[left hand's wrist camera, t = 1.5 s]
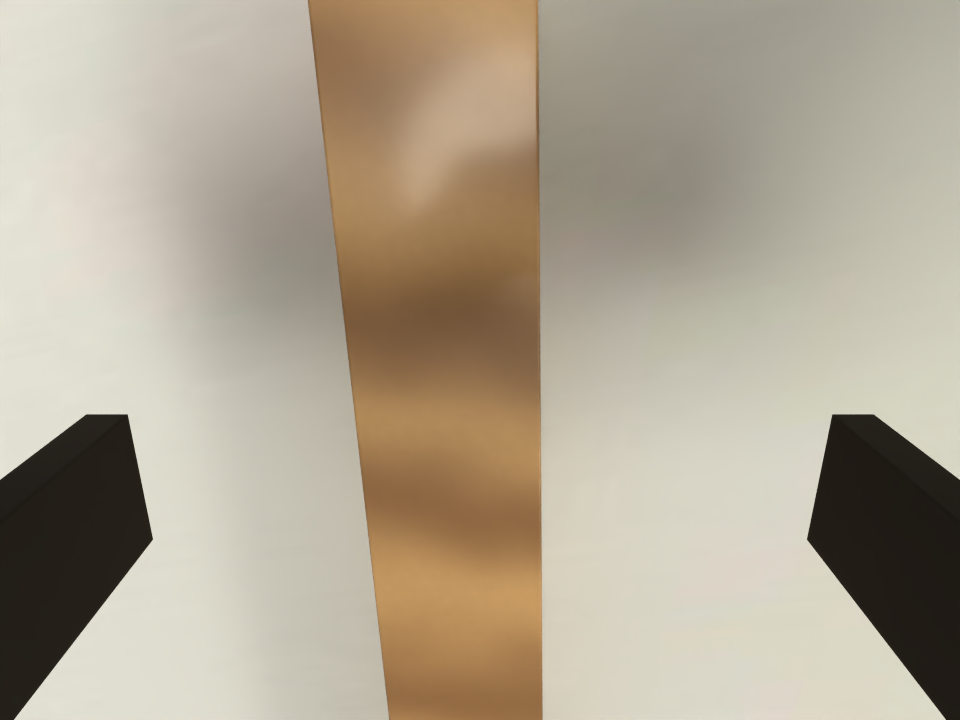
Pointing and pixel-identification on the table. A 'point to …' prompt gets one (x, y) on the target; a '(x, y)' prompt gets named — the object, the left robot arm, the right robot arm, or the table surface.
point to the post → (442, 335)
